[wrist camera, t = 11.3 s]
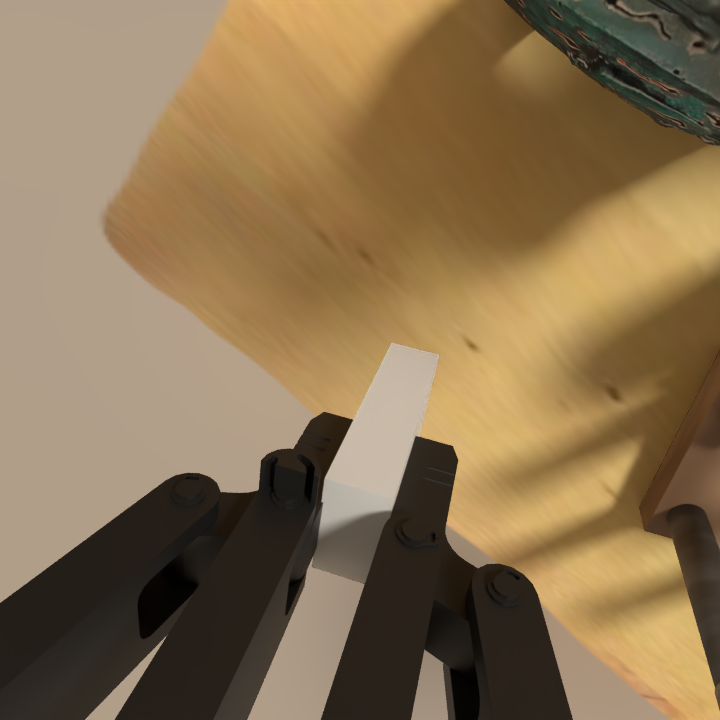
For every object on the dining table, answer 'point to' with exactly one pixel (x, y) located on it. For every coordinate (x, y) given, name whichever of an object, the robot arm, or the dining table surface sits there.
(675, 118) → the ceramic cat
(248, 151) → the dining table surface
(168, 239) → the dining table surface
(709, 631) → the stool
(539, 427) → the dining table surface
